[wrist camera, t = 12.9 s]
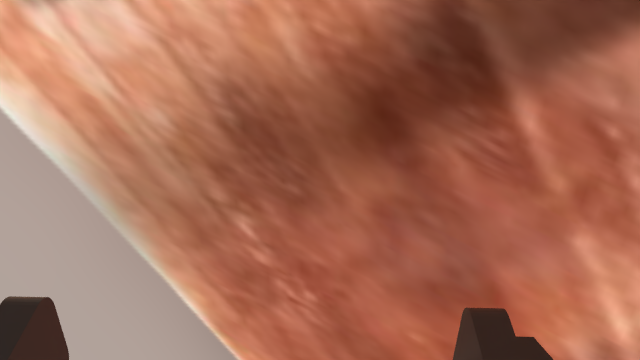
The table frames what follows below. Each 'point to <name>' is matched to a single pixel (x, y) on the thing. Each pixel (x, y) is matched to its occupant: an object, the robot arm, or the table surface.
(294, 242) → the table surface
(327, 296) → the table surface
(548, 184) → the table surface
